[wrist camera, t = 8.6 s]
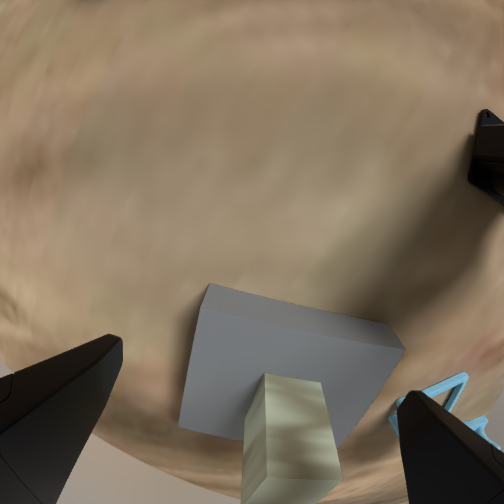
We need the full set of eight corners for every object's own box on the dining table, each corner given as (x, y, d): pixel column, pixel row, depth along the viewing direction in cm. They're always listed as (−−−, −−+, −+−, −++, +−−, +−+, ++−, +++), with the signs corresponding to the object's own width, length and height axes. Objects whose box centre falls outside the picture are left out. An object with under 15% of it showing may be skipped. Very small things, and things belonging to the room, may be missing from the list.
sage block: (320, 382, 18) (343, 479, 11) (294, 425, 20) (304, 512, 12) (264, 372, 18) (266, 476, 11) (245, 418, 20) (240, 508, 12)
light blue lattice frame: (403, 381, 23) (450, 481, 11) (466, 370, 23) (519, 447, 11) (380, 431, 25) (408, 520, 14) (440, 419, 25) (476, 493, 14)
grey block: (386, 321, 21) (405, 349, 18) (329, 420, 25) (335, 450, 21) (211, 280, 21) (200, 306, 17) (186, 395, 24) (177, 426, 20)
